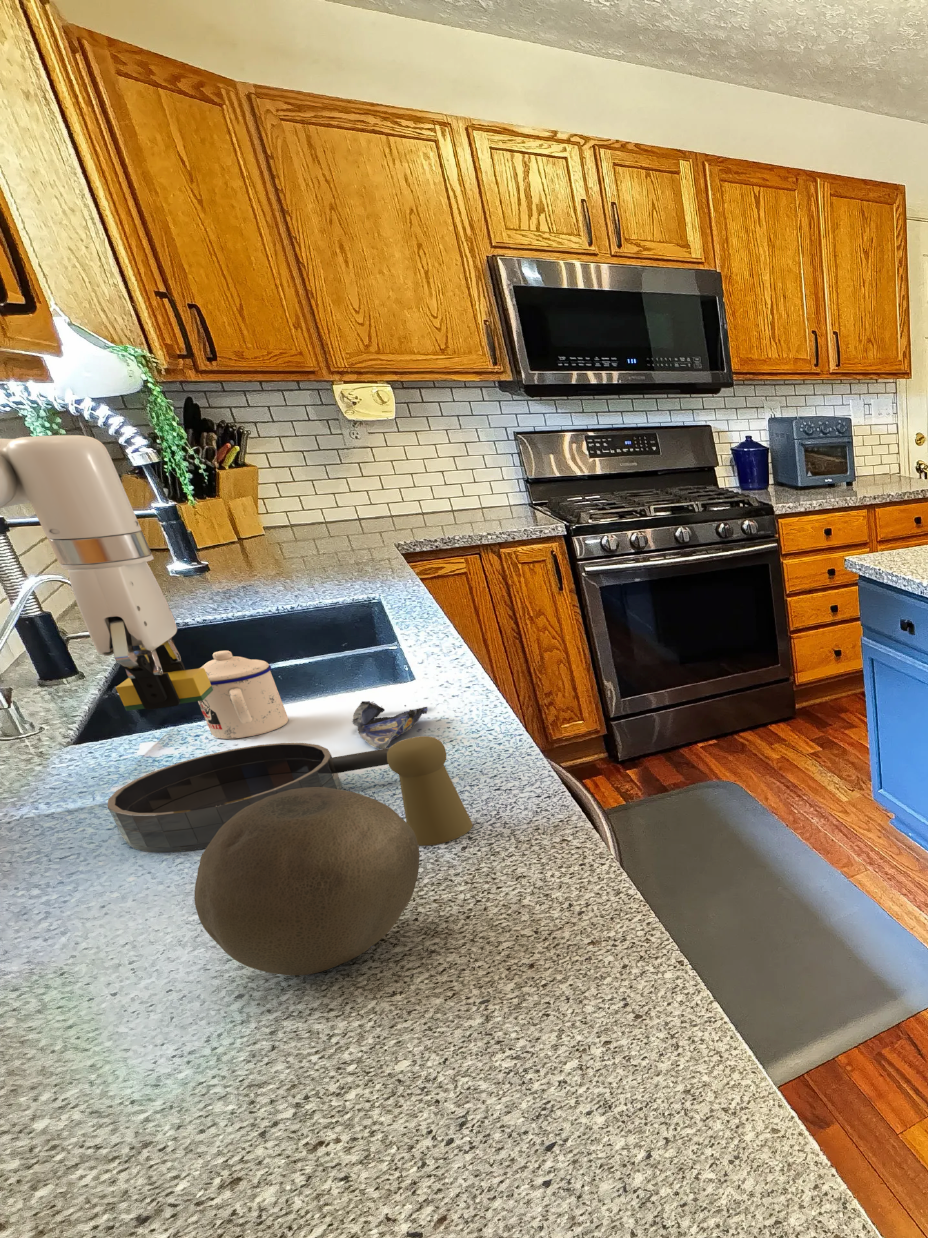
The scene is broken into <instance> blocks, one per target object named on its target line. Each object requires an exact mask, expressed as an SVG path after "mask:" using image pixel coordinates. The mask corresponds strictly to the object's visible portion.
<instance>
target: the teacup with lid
mask: <svg viewBox="0 0 928 1238" xmlns="http://www.w3.org/2000/svg"><path fill="white" fill-rule="evenodd" d="M212 658H213V659H211V660H209V661H207V662H206V663H205V664H203V665H202V666H201V667H200V668H204V669H205V671H206V674H207V676H208V679H209V681H210V683H211V686H212V688H213V691H212V692H211V693H210V694H209V695H208V696H207V697H206V698H205V699H204V700H203V701H197V703H198V706H199V708H200V710H201V713H202V715H203V717H204V720H205V722H206V725H207V727H208V729H209V731H210V734H211V735H212V736H213V737H214V738H216V739H222V740H230V739H231V740H233V739H242V738H243V739H244V738H249V737H254V736H259V735H262V734H266V733H270V732H272V731H276V730H278V729H280V728H281V727H284V726H285V725H286V724H287V723H288V722H289V716H288V715H287V711H286V709H285V706H284V702H283V701H282V698H281V696H280V693H279V691H278V688H277V684H276V682H275V679H274V677H273V675H272V672H271V670H272V666H271V665H270V663H268V662H267V661H265V660H262V659H250V658H247V657H243V656H234V655H233V653H232V651H229V650H219V651H214V652H213V654H212Z"/></svg>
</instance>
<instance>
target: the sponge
mask: <svg viewBox="0 0 928 1238" xmlns="http://www.w3.org/2000/svg"><path fill="white" fill-rule="evenodd" d="M166 673H168V674H169V677H170V679H171V681H172V683H173V686H174V688H175V690H176V692H177V695H178V697H179V699H180V704H179V705H182V704H187V703H195V702H198V701H203V700H204V699H205V698H206V697H207V696H208V695H209V694H210V693H211V692H212V691H213V688H212V686H211V683H210V681H209V679H208V676H207V674H206V671H205V669H204V668H201V667H198V668H192V669H191V668H190V669H185V670H183V671H174V672H166ZM115 689H116V692H117V694H118V695H119V698H120V700H121V702H122V704H123V706H124V709H125V711H126V712H130V711H136V710H143V709H144V710H146V709H145V708H144V707H143V705H142V702H141V700H140V698H139V696H138V694H137V692H136V690H135V687H134V685H133V683H132V681H131V679H130V678H129V677H127V678H126V679H125V680H124V681H122V682H121V683H120V684H118V685H117V686H116V687H115Z"/></svg>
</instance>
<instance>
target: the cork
mask: <svg viewBox="0 0 928 1238" xmlns="http://www.w3.org/2000/svg"><path fill="white" fill-rule="evenodd" d="M388 748H389V750H388V752H387V762H388V765H387V766H388V767H389V768H390V770H391V771H392V772H393V773H395V774H397V775H398V778H399V786H400V791H401V796H402V797H401V799H402V803H403V810H404V816H405V822H406V823H407V824H408V825H409V826H410V827H411V828H412V830H413V831H414V833H415V836H416V839H417V843H418V847H423V846H426V847H427V846H435V845H440V844H444V843H448V842H451V841H453V840H456V839H459V838H460V837H462V836H464V835H466V834H467V833H469V832H470V831H471V830H472V828H473V827H474V824H473V821H472V819H471V818H470V815H469V813H468V811H467V810H466V807H465V805H464V803H463V801H462V799H461V797H460V795H459V793H458V790H457V788H456V787H455V784H454V782H453V781H452V779H451V776H450V773H449V772H448V770H447V768H446V766H445V763H446V761H447V750H446V747H445V744H444V743H443V742H442V741H441V740H439V739H438V738H436V737H433V736H429V735H425V736H424V735H422V736H412V737H408V738H405V739H402V740H399V741H396V742H395V743H393V744H392V745H391V746H390V747H388Z"/></svg>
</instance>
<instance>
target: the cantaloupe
mask: <svg viewBox="0 0 928 1238" xmlns="http://www.w3.org/2000/svg"><path fill="white" fill-rule="evenodd" d="M419 870H420V846H419V845H418V843H417V839H416V836H415V833H414V831H413V830H412V828H411V827H410V826H409V825H408V824H407V823H406V820H404V819H403V818H402V817H401V816H400V815H399V814H398V813H397V812H396V811H395V810H394V809H393V808H392V807H390V806H388V805H387V804H385V803H383V802H381V801H379V800H377V799H375V798H373V797H370V796H367V795H364V794H361V793H358V792H354V791H351V790H347V789H341V790H339V789H332V788H325V787H307V788H298V789H291V790H287V791H284V792H280V793H277V794H275V795H271V796H269V797H266V798H264V799H262V800H260V801H258V802H255V803H253V804H251V805H249V806H247V807H245V808H243V809H242V810H241V811H239V812H238V813H237V814H235V815H234V816H233V817H232V818H231V819H229V820H228V821H227V822H226V823H225V824H224V825H223V826H222V827H221V828H220V829H219V830H218V832H217V833H216V835H215V836H214V838H213V839H212V840H211V842H210V843H209V845H208V846H207V847H206V848H204V851H203V852H202V854H201V855H200V859H199V865H198V867H197V874H196V879H195V885H194V891H193V893H194V894H193V895H194V896H193V897H194V907H195V910H196V914H197V916H198V919H199V922H200V924H201V926H202V927H203V929H204V931H205V932H206V933H207V934H208V936H209V937H210V938H211V939H212V940H213V941H214V942H215V943H216V944H217V945H218V946H219V947H220V948H221V949H222V950H223V951H224V952H225V953H226V954H227V956H229V957H230V958H231V959H233V960H234V961H236V962H238V963H239V964H241V965H244V966H245V967H248V968H250V969H252V970H257V971H260V972H264V973H268V974H275V975H280V976H307V975H308V976H309V975H313V974H317V973H322V972H324V971H327V970H330V969H333V968H335V967H338V966H340V965H342V964H345V963H347V962H350V961H352V960H354V959H355V958H357V957H359V956H360V955H363V954H364V953H365V952H367V951H368V950H369V949H370V948H372V947H373V946H374V945H376V944H377V943H378V942H380V941H381V940H382V939H383V938H384V937H385V936H386V935H387V934H388V933H389V931H390V930H391V929H392V928H393V927H394V925H395V924H396V923H397V922H398V921H399V918H400V917H401V915H402V913H403V912H404V910H405V909H406V907H407V906H408V904H409V903H410V901H411V900H412V897H413V895H414V892H415V889H416V884H417V881H418V876H419Z"/></svg>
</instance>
